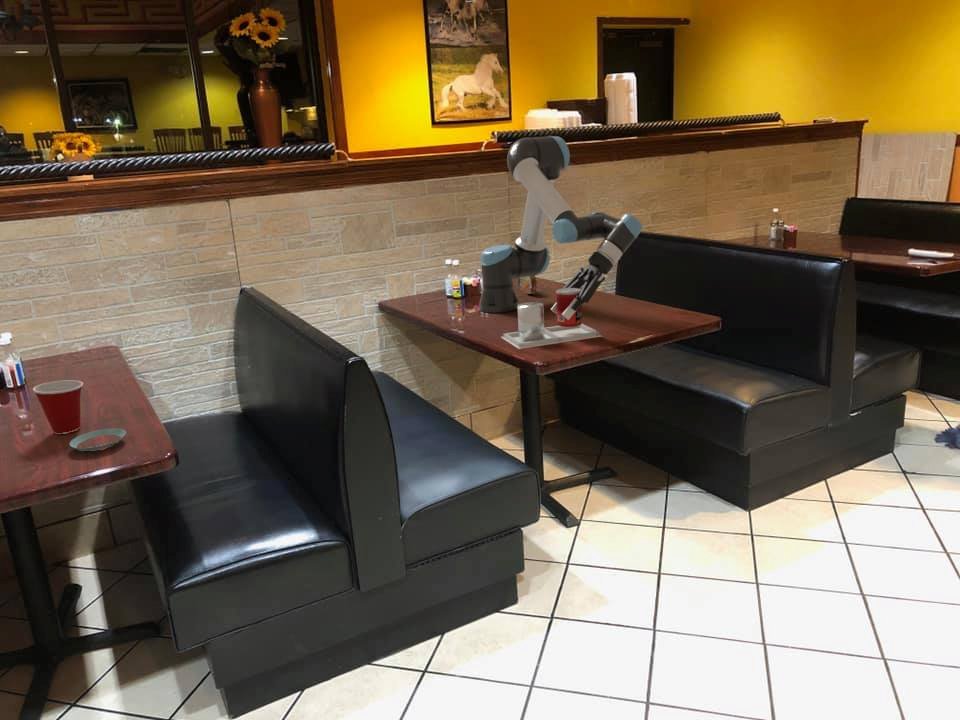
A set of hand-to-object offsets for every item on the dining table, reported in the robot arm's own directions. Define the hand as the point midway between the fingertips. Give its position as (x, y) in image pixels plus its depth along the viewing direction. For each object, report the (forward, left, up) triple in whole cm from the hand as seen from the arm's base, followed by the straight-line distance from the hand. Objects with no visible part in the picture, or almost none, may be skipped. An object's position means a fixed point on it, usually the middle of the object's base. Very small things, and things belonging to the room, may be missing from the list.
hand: (559, 314), depth 236 cm
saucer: (+29, -130, -9) cm, 134 cm away
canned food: (0, +3, -4) cm, 5 cm away
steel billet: (0, -10, -7) cm, 12 cm away
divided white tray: (0, -3, -8) cm, 9 cm away
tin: (-73, +19, -9) cm, 76 cm away
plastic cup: (+14, -139, -9) cm, 140 cm away
